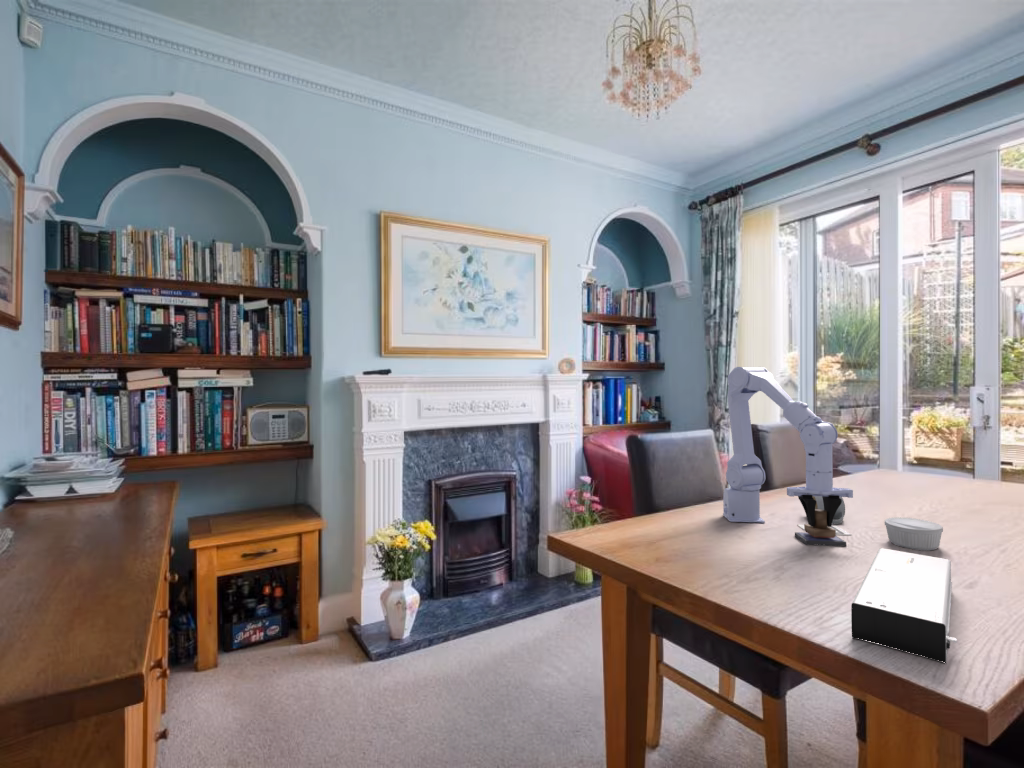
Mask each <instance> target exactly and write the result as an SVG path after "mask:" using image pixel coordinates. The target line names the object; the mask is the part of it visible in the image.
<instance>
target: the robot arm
mask: <svg viewBox="0 0 1024 768" xmlns="http://www.w3.org/2000/svg"><path fill="white" fill-rule="evenodd" d="M727 384H728V388H727V389H728V391H727V404H728V414H729V422H730V423H729V424H730V432H731V433H730V434H731V440H732V441H731V442H732V450H733V451H732V452H733V455H732V457H730V459H728V461H727V462H726V465H727V468H726V472H725V478H726V482H727V484H728V485H729V487H728V488H727V487H726V488H724V490H723V494H722V495H723V496H722V497H723V499H722V501H723V504H722V505H723V510H722V511H723V513H722V515H723V516H724V518H726V519H727V520H728V521H729V522H730V523H731V522H732V523H733V522H734V523H766V521H765V520H764V519H763V518H762V517H760V516H761V515H760V514H761V511H760V510H761V509H760V508H761V507H760V505H761V504H760V503H761V502H760V501H761V500H760V499H761V498H760V489H762V486H763V484H764V483H765V481H766V471H765V469H764V467H763V465H762V460H761V459H760V458H759V457H758V456H756V454H755V448H754V441H753V438H754V437H753V430H752V422H751V414H750V413H751V411H750V406H749V405H750V404H749V401H750V400H751V398H752V397H753V396H754V395H755V394H757V393H759V392H762V393H764V394H765V396H767V397H768V398H769V399H770V400H772V402H774V403H775V404H776V405H777V406H779V407H780V408H781V409H782V416H783V417H784V418H785V420H786V421H788V423H789V424H791V425H792V426H793V427H794V428H795V429H796V431H798V433H799V438H800V441H801V443H802V444H803V446H804V447H803V448H804V452H805V486H794V487H792V486H791V487H790V486H788V487H786V495H787V496H788V497H798V500H799V502H800V503H801V505H802V508H803V510H804V513H805V516H806V519H807V523H808V524H809V525H810V526H815V506H816V500H814V498H812V496H820V497H822V498H823V504H824V510H826V511H827V526H828V527H831V526H833V524H832V521H833V520H834V519H833V518H834V515H835V513H836V511H837V509H838V508H839V506H840V505H841V503H842V499H840V498H839V497H842V498H847V499H848V498H849V499H850V498H851V499H852V498H854V490H853V489H851V488H845V487H834V486H833V485H834V481H833V480H834V479H833V477H834V475H833V474H834V473H833V472H834V471H833V469H834V468H833V467H834V465H833V460H834V459H833V444H835V443H836V442H837V440H838V435H839V434H838V430H837V428H836V427H835V426H834V424H833V423H831V422H829V421H824V420H823V419H822V418H821V416H817V414H815V413H814V412H813V411H812V410H811V409H810V408H809V404H807V402H803V401H801V400H797V401H794V399H793V398H792V397H791V396H790V395H789V394H788V392H787V391H785V389H784V388H783V387H782V386H781V385H780V384H779V383H778V382H777V380H775V379H774V375H773V373H772V372H770V371H769V370H768V369H767V368H766V367H763V366H757V367H755V366H750V367H749V366H747V367H746V366H744V367H743V366H736V367H734V368H733V369H732V370H731V371H730V373H729V374H728V375H727Z"/></svg>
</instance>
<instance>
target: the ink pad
mask: <svg viewBox="0 0 1024 768" xmlns="http://www.w3.org/2000/svg"><path fill="white" fill-rule="evenodd" d="M794 537H795V538H796V539H798V540H799V541H801V542H802V543H803V544H804V545H807V546H829V547H831V546H833V547H847V541H845V540H844V539H842V538H840V537H839V536H838V535H836V537H834V538H824V537H813V536H812V535H810V534H808V533H807V532H800V531H798V532H794Z"/></svg>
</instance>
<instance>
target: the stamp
mask: <svg viewBox="0 0 1024 768" xmlns="http://www.w3.org/2000/svg"><path fill="white" fill-rule="evenodd" d="M803 525H804V528H805V530H804V532H805V533H808V534H810V535H812V536H813V537H824V538H834V537H836V536H837V535H836V530H834V529H832V528H831V527H828V526H827V511H826V510H821V509H815V526H810V525H809V524H807V523H804V524H803Z"/></svg>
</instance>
